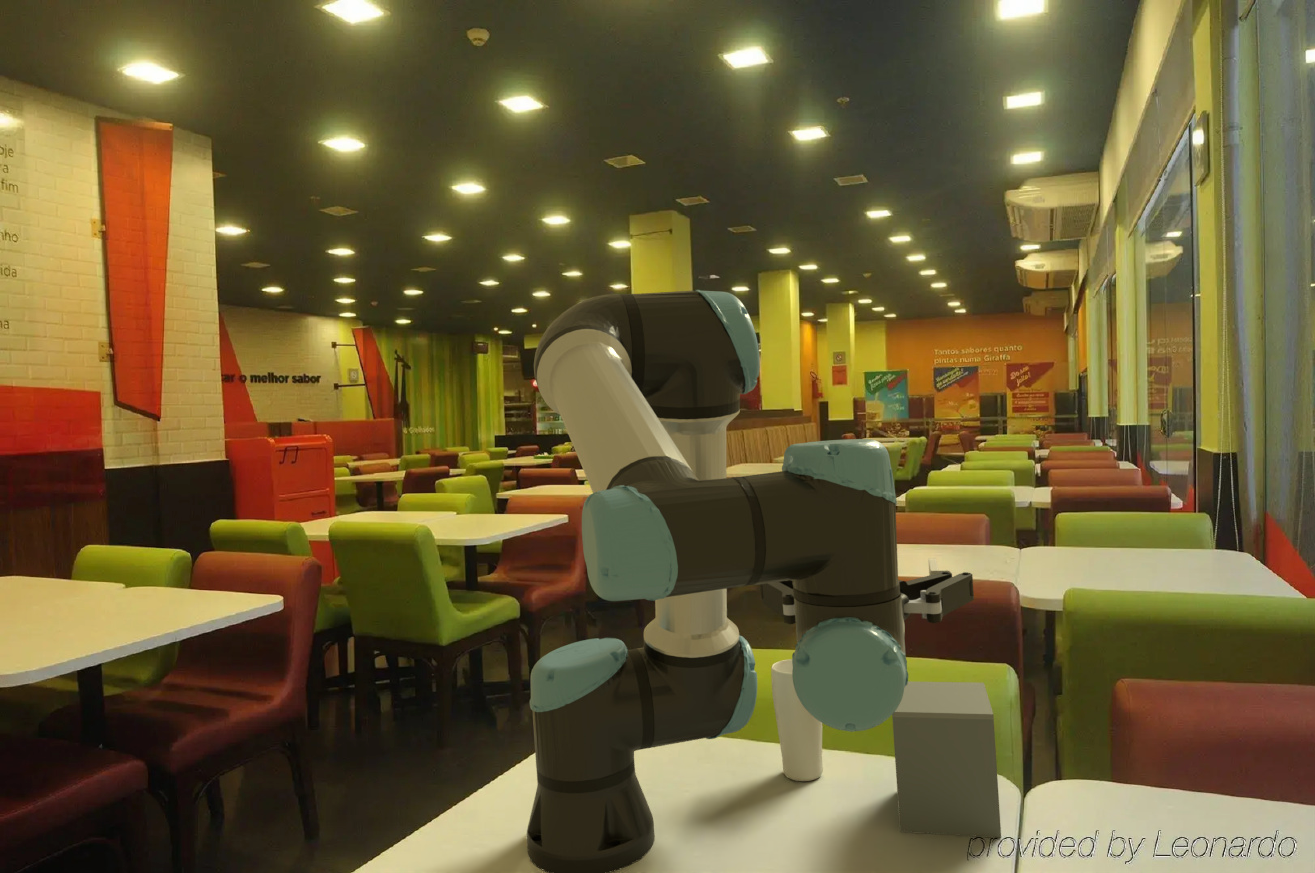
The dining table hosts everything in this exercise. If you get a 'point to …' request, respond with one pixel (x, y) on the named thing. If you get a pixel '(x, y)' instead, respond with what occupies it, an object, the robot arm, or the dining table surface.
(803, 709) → the drinking glass
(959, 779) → the tall grey box
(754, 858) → the dining table surface
